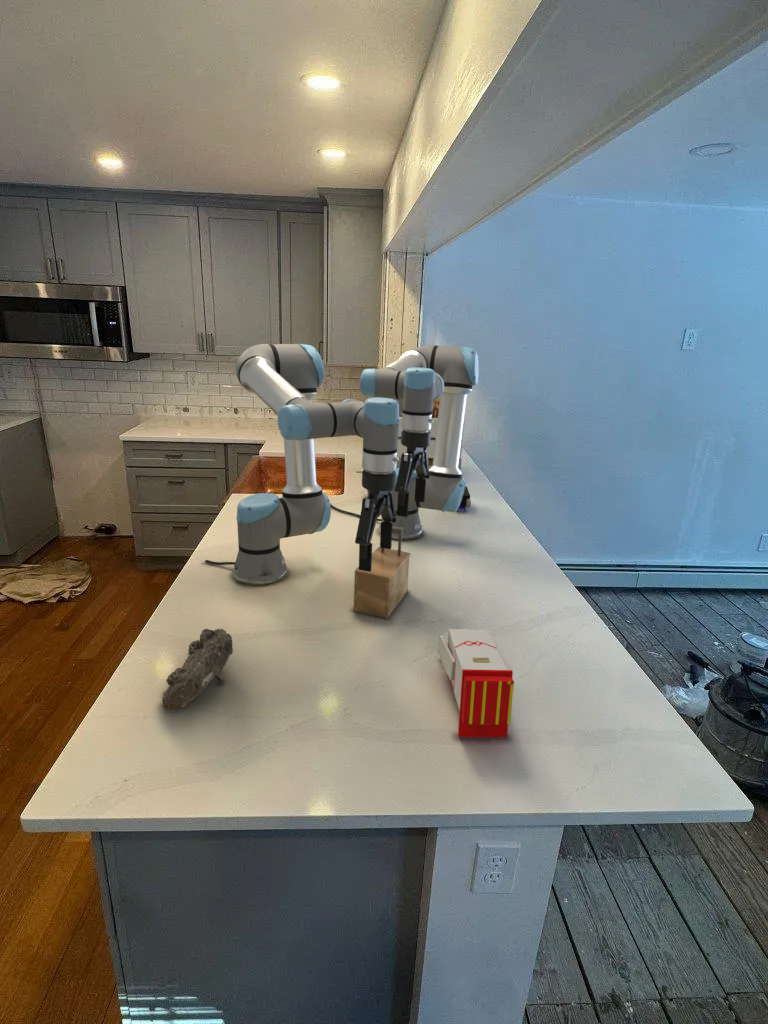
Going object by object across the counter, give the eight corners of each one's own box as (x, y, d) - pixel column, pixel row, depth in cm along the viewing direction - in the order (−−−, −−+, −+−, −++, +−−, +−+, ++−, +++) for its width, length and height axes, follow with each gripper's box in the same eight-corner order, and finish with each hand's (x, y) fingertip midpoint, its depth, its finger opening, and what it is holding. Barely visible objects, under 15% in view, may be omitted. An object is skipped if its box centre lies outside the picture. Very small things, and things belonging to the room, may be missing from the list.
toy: (488, 613, 130) (523, 677, 101) (484, 667, 133) (517, 744, 104) (435, 612, 130) (455, 676, 101) (432, 666, 133) (451, 743, 103)
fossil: (186, 631, 128) (233, 600, 123) (216, 659, 131) (263, 630, 126) (139, 703, 108) (193, 670, 103) (175, 734, 111) (229, 704, 106)
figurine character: (470, 516, 223) (465, 500, 237) (473, 499, 220) (467, 484, 233) (453, 516, 223) (449, 500, 236) (455, 498, 220) (451, 483, 233)
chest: (376, 584, 162) (377, 550, 159) (407, 591, 159) (409, 557, 156) (353, 610, 148) (354, 573, 145) (387, 618, 145) (389, 581, 142)
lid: (378, 549, 160) (379, 519, 157) (410, 555, 157) (412, 525, 154) (354, 573, 145) (355, 541, 142) (389, 580, 142) (391, 547, 139)
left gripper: (375, 487, 112) (371, 583, 119) (412, 459, 134) (407, 542, 142) (340, 482, 114) (339, 577, 122) (382, 455, 137) (379, 537, 144)
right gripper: (413, 441, 133) (408, 525, 140) (444, 424, 155) (438, 497, 162) (384, 437, 136) (380, 520, 143) (418, 421, 157) (413, 493, 164)
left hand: (375, 558), depth 132 cm, fingers open, 13 cm apart
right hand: (411, 508), depth 152 cm, fingers open, 13 cm apart
